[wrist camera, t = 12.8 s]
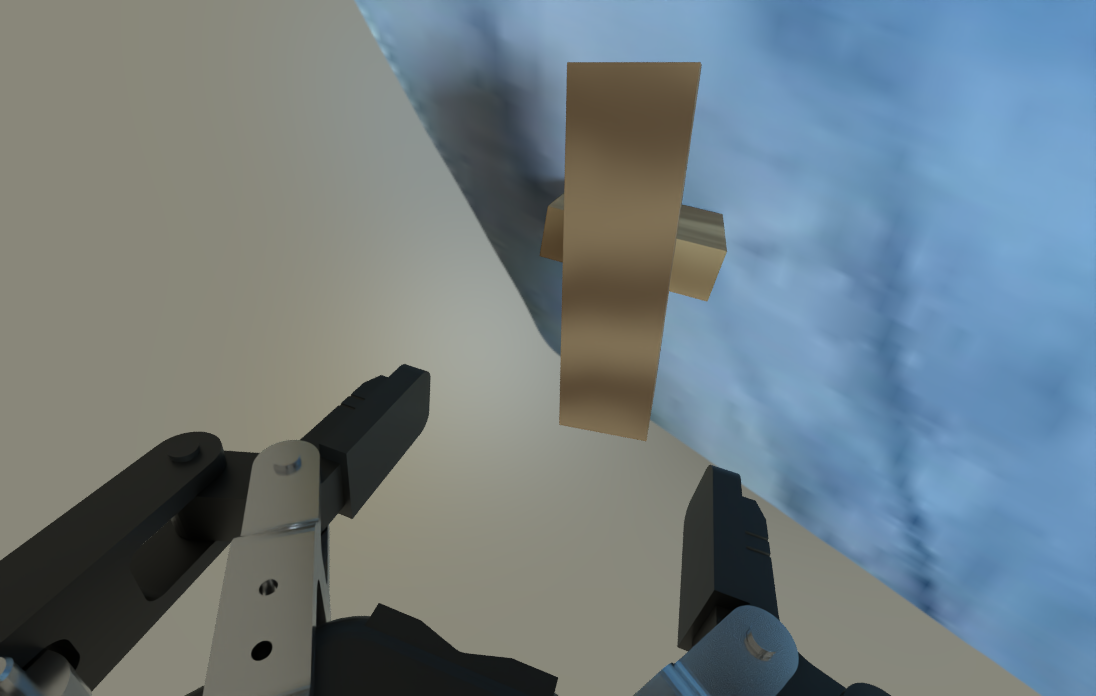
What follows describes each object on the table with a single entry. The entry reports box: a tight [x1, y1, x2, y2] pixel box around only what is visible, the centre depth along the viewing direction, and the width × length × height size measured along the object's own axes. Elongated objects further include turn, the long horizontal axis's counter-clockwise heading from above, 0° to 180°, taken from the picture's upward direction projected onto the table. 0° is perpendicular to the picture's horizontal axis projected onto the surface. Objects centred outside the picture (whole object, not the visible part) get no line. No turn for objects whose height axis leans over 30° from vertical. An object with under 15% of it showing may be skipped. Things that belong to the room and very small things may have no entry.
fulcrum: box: [540, 193, 727, 301], centre depth 30 cm, size 3×10×8 cm, turn 80°
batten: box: [559, 62, 702, 441], centre depth 24 cm, size 18×5×5 cm, turn 179°
